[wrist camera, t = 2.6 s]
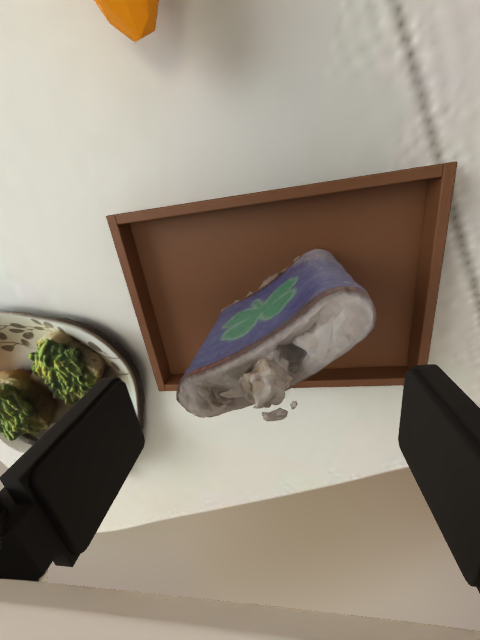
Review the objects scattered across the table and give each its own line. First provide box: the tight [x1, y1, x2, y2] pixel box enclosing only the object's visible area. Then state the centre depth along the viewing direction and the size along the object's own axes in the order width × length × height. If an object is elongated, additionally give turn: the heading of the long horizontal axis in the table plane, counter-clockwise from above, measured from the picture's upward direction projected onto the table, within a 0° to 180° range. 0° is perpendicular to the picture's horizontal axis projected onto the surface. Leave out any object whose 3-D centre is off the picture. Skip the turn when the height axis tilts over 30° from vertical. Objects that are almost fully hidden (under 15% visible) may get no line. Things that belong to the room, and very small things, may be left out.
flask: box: [177, 249, 377, 421], centre depth 14 cm, size 9×3×11 cm, turn 127°
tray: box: [106, 162, 457, 391], centre depth 18 cm, size 19×13×2 cm
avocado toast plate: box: [0, 311, 144, 453], centre depth 24 cm, size 19×18×5 cm
